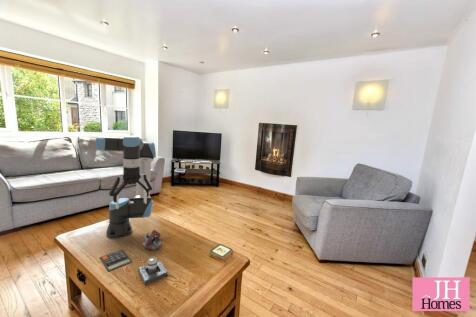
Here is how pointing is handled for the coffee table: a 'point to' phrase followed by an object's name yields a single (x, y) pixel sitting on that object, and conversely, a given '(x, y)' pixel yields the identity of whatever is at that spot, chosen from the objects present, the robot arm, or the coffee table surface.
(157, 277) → the bore plate
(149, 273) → the piston
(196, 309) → the coffee table surface
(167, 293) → the coffee table surface
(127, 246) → the coffee table surface
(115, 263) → the calculator
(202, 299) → the coffee table surface
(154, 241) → the brake caliper
